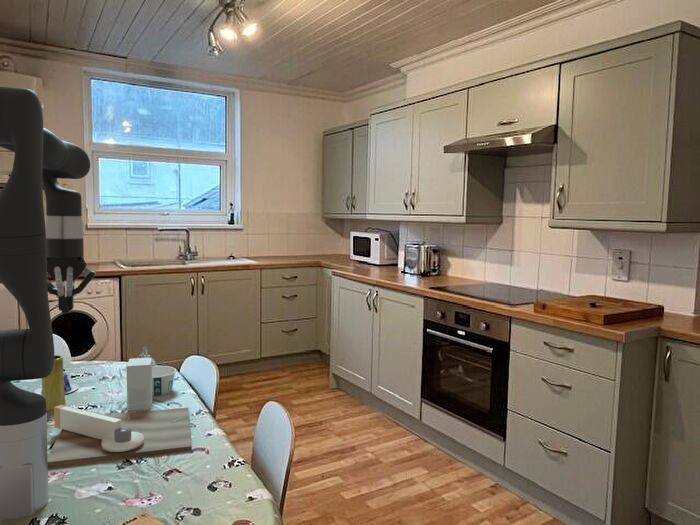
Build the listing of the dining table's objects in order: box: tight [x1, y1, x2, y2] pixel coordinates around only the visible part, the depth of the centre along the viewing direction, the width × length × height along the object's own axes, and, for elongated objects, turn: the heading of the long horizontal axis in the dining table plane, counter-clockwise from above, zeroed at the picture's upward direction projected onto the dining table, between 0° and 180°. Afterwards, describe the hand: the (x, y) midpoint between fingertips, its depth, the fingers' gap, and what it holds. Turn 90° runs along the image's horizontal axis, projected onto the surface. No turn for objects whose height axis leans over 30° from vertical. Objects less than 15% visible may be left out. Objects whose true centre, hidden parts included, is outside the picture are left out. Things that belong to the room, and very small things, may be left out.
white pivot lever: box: [53, 405, 144, 452], centre depth 125 cm, size 26×9×5 cm, turn 66°
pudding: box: [33, 372, 79, 395], centre depth 162 cm, size 12×12×5 cm
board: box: [48, 407, 193, 469], centre depth 130 cm, size 26×30×2 cm
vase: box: [41, 354, 67, 412], centre depth 148 cm, size 6×6×14 cm
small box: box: [126, 357, 153, 412], centre depth 151 cm, size 8×6×13 cm
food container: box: [152, 365, 177, 397], centre depth 163 cm, size 12×12×6 cm
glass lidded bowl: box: [137, 345, 157, 366], centre depth 192 cm, size 9×9×8 cm
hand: (66, 312), depth 120 cm, fingers closed
